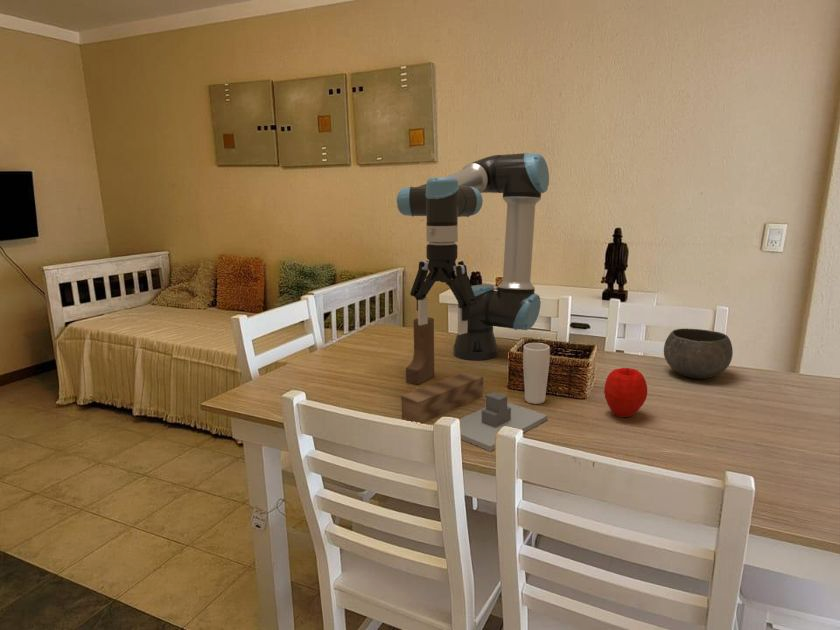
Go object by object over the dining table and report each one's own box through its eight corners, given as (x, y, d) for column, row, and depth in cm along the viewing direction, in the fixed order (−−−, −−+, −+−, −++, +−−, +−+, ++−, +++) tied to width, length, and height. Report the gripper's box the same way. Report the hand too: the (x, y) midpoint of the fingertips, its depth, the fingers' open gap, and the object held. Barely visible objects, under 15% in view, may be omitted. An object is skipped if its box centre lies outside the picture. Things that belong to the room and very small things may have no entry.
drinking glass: (549, 397, 145) (551, 343, 142) (546, 407, 139) (548, 351, 136) (523, 394, 148) (525, 341, 144) (519, 404, 141) (521, 349, 138)
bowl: (662, 381, 155) (666, 339, 152) (661, 362, 171) (664, 323, 168) (733, 389, 148) (739, 344, 145) (725, 368, 165) (730, 328, 162)
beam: (466, 392, 151) (466, 371, 150) (482, 397, 147) (483, 376, 146) (401, 418, 135) (401, 395, 134) (418, 425, 131) (418, 402, 130)
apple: (640, 427, 127) (644, 377, 124) (597, 418, 132) (600, 370, 129) (648, 412, 135) (652, 365, 132) (607, 404, 140) (610, 359, 137)
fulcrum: (501, 404, 142) (501, 376, 140) (547, 419, 132) (548, 390, 130) (442, 431, 127) (442, 401, 125) (490, 451, 117) (490, 418, 115)
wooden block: (418, 385, 156) (416, 324, 152) (405, 382, 159) (403, 322, 155) (435, 375, 164) (434, 317, 159) (422, 373, 166) (421, 316, 162)
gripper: (395, 241, 137) (397, 323, 142) (471, 247, 120) (470, 340, 124) (417, 239, 142) (418, 318, 147) (492, 245, 125) (490, 334, 130)
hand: (442, 328), depth 136 cm, fingers open, 13 cm apart
